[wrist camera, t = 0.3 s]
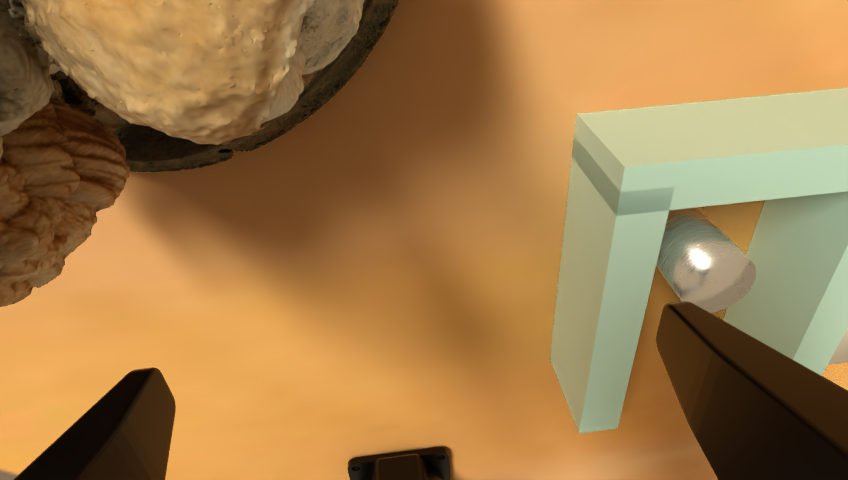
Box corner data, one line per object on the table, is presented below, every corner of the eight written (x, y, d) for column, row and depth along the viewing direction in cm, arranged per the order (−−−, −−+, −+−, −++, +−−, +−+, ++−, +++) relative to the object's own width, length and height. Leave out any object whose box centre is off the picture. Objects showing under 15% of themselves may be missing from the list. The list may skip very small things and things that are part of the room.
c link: (576, 113, 23) (624, 167, 19) (847, 87, 23) (951, 133, 19) (549, 359, 31) (578, 433, 27) (748, 335, 32) (806, 404, 28)
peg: (679, 235, 27) (744, 308, 22) (621, 242, 27) (674, 317, 22) (692, 182, 25) (766, 251, 21) (630, 189, 25) (690, 259, 21)
